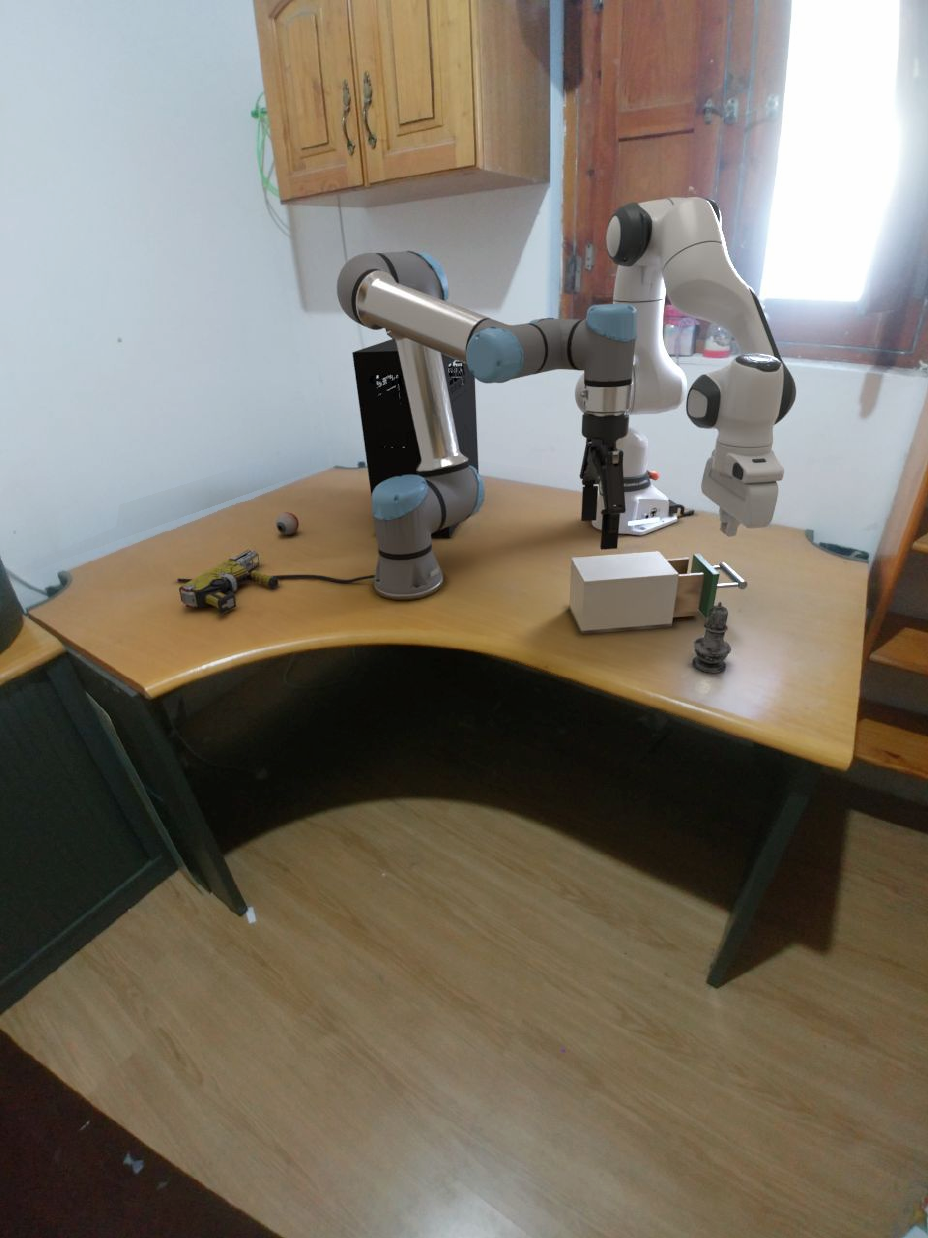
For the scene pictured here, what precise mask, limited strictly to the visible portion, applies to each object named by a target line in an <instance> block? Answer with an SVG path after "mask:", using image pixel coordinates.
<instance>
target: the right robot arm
mask: <svg viewBox="0 0 928 1238" xmlns="http://www.w3.org/2000/svg"><path fill="white" fill-rule="evenodd" d="M605 237H606V239H605V242H606V244H605V245H606V252H607V256H608V257H609V259H610V261H612V263H613V264H614V265H617V269H616V275H615V280H614V286H613V297H612V304H630V305H633V306H634V307H635V308H636V311H637V325H636V334H637V339H636V342H635V352H634V363H633V372H632V395H631V407H630V408H629V409H628V410H627V412H628V414H629V416H637V415H657V414H661V413H662V414H663V413H666V412H670V411H674V410H676V409H678V408H680V405H681V404H682V403H683V401H684V400H685V398H686V403H685V411H686V415H687V417H688V419H689V420H690V422H691V423H692V424H693V425H695V426H696V427H697V428H699V429H705V430H714V429H716V430H717V432H718V434H717V437H716V440H715V446H714V449H713V450H712V451H711V455H710V457H709V458H708V459H707V460H706V463H705V467H704V470H703V475H702V477H701V478H702V479H701V484H700V490H701V493H702V495H704V496H705V497H706V498H707V499H709V500H710V501H711V502H713V503H714V504H715V505H717V506H718V508H719V509H718V513H719V520H720V525H719V530H720V531H721V532H722V533H723V534H724V535H725V536H726V537H728V538H729V537H730V538H731V537H735V536H736V535H737V533H738V528H739V526H740V525H741V524H742V525H743V526H745V528H747V529H762V528H767V527H768V526H769V525H770V524H771V522H772V520H773V519H774V514H775V511H776V507H777V502H778V497H779V484H778V482H780V481H782V480H783V478H784V474H785V469H784V466H783V465H782V464H781V462H780V461H779V460H778V458H777V457H776V455H775V452H774V450H772V448H773V444H774V426H775V425H777V424H778V423H780V422H781V421H782V420H783V419H784V418H785V417H786V416H787V415H788V413H789V412H790V411H791V410H792V408H793V405H794V403H795V401H796V397H797V386H796V382H795V379H794V377H793V375H792V373H791V371H789V368H788V367H787V365H786V364H785V362H784V361H783V358H782V357H781V354H780V352H779V348H778V347H777V344H776V341H775V339H774V336H773V333H772V331H771V328H770V325H769V323H768V320H767V318H766V315H765V312H764V310H763V307H762V305H761V302H760V300H759V298H758V296H757V293H756V292H755V290H754V289H753V288H752V287H751V286H750V285H749V284H748V283H746V282H745V281H744V280H743V279H742V278H741V276H740V275H739V273H738V272H737V270H736V269H735V268H734V266H733V264H732V262H731V260H730V257H729V254H728V250H727V246H726V245H727V244H726V241H725V237H724V234H723V231H722V213H721V210H720V207H719V205H718V203H717V202H716V201H715V200H713V199H710V198H707V197H702V196H689V197H665V198H663V199H655V200H654V199H653V200H648V201H644V202H639V203H638V202H630V203H627V204H624V205H621V206H619V207H617V208H616V209H615V210H614V212H613V214H612V215H611V216H610V218H609V221H608V224H607V229H606V235H605ZM666 296H667V299H668V300H669V303H670V304H671V306H672V307H673V308H674V309H675V310H676V311H678V312H679V313H680V314H683V316H687V317H690V318H693V319H698V320H701V321H705V322H708V323H711V324H714V325H717V326H718V327H720V328H722V329H724V330H726V331H727V332H728V333H729V334H730V335H731V336H732V337H733V339H734V341H735V343H736V347H737V349H738V351H739V354H740V355H738V356H736V357H735V358H733V359H732V360H731V361H730V363H729V364H728V365H727V366H725V367H723V368H720V369H718V370H714V371H710V372H707V373H704V374H700V375H699V376H698V377H697V378H696V379H695V380H694V381H693V383H692V384H691V385H690V388H689V390H688V380H687V378H686V377H687V376H686V374H685V372H684V371H683V370H682V369H681V367H679V366H678V365H677V364H676V363H675V362H674V360H672V358H671V357H670V356H669V354H668V352H667V349H666V347H665V343H664V337H663V336H664V335H663V330H664V329H663V327H664V311H665V301H666ZM583 391H584V372H583V373H582V374H581V375H580V377H579V378H578V379H577V382H576V385H575V390H574V400H575V403H576V405H577V407H578V409H579V410H580V412H582V414H584V413H585V412H586V411H585V410H584V409H583V398H582V397H580V393H581V392H583ZM687 391H688V392H687ZM649 446H650V443H649V440H648V438H647V437H646V435H645V434H644V433H643V432H641V431H639V430H638V429H636V428H634V427H631V426H629V427H628V434H627V435H626V436H625V437H624V438H620V439H618V440H617V441H616V448H617V449H618V450H623V453H624V455H623V477H624V493H625V508H626V511H625V513H620V520H619V532H618V535H619V534H623V535H625V534H626V535H632V536H633V535H634V536H645V535H646V534H650V533H652V532H654V531H657V530H660V529H662V528H665V527H668V526H670V525H672V524H675V523H677V522H678V516H677V515H676V514H678V513H680V515H681V516H682V517H687V516H690V515H694V514H695V510H694V509H691V510H688V511H685V510H686V508H685V506H684V505H683V504H680V503H676V502H674V501H673V500H671V499H669V498H668V497H667V496H666V495H665V494H664V493H663V492H661V491H660V490H659V489H658V488H656V487H655V486H654V485H652V483H651V480H653V481H658V479H659V478H660V473H659V472H657V471H654V470H651V471H649V470H648V469H647V466H648V458H649V457H648V455H649ZM612 466H613V465H612ZM599 480H600V484H598V499H597V515H596V520H593V521H591V525H592V526H593V527H594V528H595V529H597V530H599V531H601V530H602V514H601V511H602V510H603V509H605V507H604V500H603V492H602V485H601V477H600V476H599ZM614 506H616V505H614ZM679 509H680V511H679Z"/></svg>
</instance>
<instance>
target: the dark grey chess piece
mask: <svg viewBox="0 0 928 1238" xmlns="http://www.w3.org/2000/svg"><path fill="white" fill-rule="evenodd" d="M728 616H729V611H728V608H726V607H725V606H723V603H722V601H719V602H718V603H717V605H714V606H713V607H711V608H710V610H709V614H708V618H707V621H706V622H705V623H704V624H703V627H704V630H705V631H704V635H703V636H702V637H699V638H697V639H695V640H694V641H693V647H694V651H695V655H696V656H695V657H693V658H692V665H693V666H694V667H695V668H696V669H698V670H699V671H702V672H705V673H710V674H716V673H717V674H718V673H721V672H724V670H726V667H727V664H726V662H725V660H726V659H727V658H728V655H730V654H731V651H732V647H731V645H730V644H729V643H728V642H727V641H725V634H726V632H728V630H729V628H728V625H727V622H728Z"/></svg>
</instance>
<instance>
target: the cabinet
mask: <svg viewBox="0 0 928 1238" xmlns="http://www.w3.org/2000/svg"><path fill="white" fill-rule="evenodd" d="M666 559H667V558H666V557H664V556H663V555H662V552H660V551H645V552H644V551H643V552H633V553H632V552H631V553H619V554H618V553H617V554H607V555H593V556H582V557H581V556H580V557H579V556H578V557H571V558H570V581H569V604H568V609H569V611H570V613H571V615H572V618H573V619H574V622H575V624H576V626H577V629H578V631H579V632H580V634H581V635H590V634H593V635H594V634H601V633H604V634H605V633H615V632H616V633H617V632H627V631H629V632H630V631H638V630H640V631H641V630H652V629H664V628H672V627H673V619H674V617H673V612H674V605H675V598H676V591H677V584H678V577H679V574H678V573H677V571H676V570H675V569H674V568H673V567H672V566H671V565H670V564H669V562H668V561H667V560H666Z"/></svg>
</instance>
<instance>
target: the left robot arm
mask: <svg viewBox="0 0 928 1238" xmlns="http://www.w3.org/2000/svg"><path fill="white" fill-rule="evenodd" d="M336 296H337V300H338V303H339V305H340V307H341V309H342V311H343V312H344V313H345V314H346V315H347V316H348V318H349V319H351V320H352V321H354V322H355V323H357V324H358V325H361V326H363V327H365V328H368V329H369V330H372V331H379V330H383V329H384V330H385V334H386V335H387V336H388V337H389V338H391V339H394V340H395V342H396V345H397V350H398V354H399V359H400V363H401V368H402V373H403V377H404V382H405V387H406V391H407V396H408V401H409V405H410V410H411V415H412V419H413V424H414V429H415V433H416V438H417V443H418V447H419V452H420V457H421V462H420V463H419V465H418V467H417V468H416V471H417V475H403V476H400V477H399V476H396V477H392V478H389V479H387V480H385V481H383V482H381V483H380V484H378V485H377V486H376V487H375V489H374V490H373V493H372V497H371V514H372V515H373V522H374V529H375V537H376V538H375V539H376V544H377V545H376V546H377V551H378V552H377V553H378V558H377V563H376V568H375V572H374V574H371V575H370V574H369V575H364V576H359V577H355V578H349V579H340V578H334V577H330V576H325V575H320V574H319V575H318V574H277V575H269V576H270V577H271V576H272V577H276V578H277V579H298V578H299V579H300V578H301V579H303V578H304V579H305V578H306V579H319V580H326V581H330V582H335V583H342V584H348V583H355V582H360V581H364V580H371V579H373V585H374V591H375V592H376V593H377V594H378V595H379V596H381V597H382V598H385V599H388V600H394V601H413V600H419V599H424V598H425V597H429V596H431V595H433V594H435V593H436V592H438V591H439V590H440V589H441V588H442V587H443V585H444V577H443V572H442V569H441V567H440V564H439V563H438V561H437V558H436V555H435V553H434V551H433V544H432V537H431V533H433V532H436V531H438V530H441V529H443V528H446V527H448V526H451V525H453V524H456V523H458V522H459V523H463V522H465V521H466V520H468V519H469V518H471V517H473V516H475V515H477V514H478V513H479V511H480V509H481V508H482V506H483V504H484V501H485V493H486V490H485V483H484V479H483V476H482V475H481V474H478V471H477V470H476V469H475V468H474V467H472V466H470V465H469V462H468V458H467V457H465V456H464V455H463V454H461V453H460V451H459V446H458V441H457V436H456V431H455V425H454V420H453V415H452V410H451V404H450V399H449V394H448V389H447V383H446V378H445V373H444V368H443V362H442V357H441V353H442V354H444V355H447V356H449V357H451V358H453V359H456V360H455V361H457V360H458V361H460V362H463V363H465V364H467V365H468V368H469V370H470V372H471V373H473V375H474V376H475V380H477V381H479V382H480V383H483V384H504V383H506V382H509V381H511V380H516V379H520V378H524V377H528V376H534V375H538V374H542V373H547V372H550V371H557V370H568V371H569V370H570V371H578V372H579V371H581V372H583V373H584V391H583V392H581V393H580V397H582V398H583V409H584V410H585V411H586V412H585V413H582V416H581V435H582V437H583V438H585V447H584V452H583V456H582V462H581V467H580V472H579V479H580V480H581V485H582V494H581V513H580V514H581V515H580V516H581V517H580V521H581V522H592V521H593V520H596V515H597V502H598V497H599V484H600V480H599V476H600V477H601V485H602V492H603V500H604V507H605V509H603V510H602V511H601V514H602V530H600V531H601V532H600V545H599V549H600V550H602V551H603V550H604V551H605V550H617V549H618V544H619V543H618V542H619V533H618V532H619V520H620V513H625V511H626V508H625V493H624V477H623V455H624V453H623V450H618V449H617V448H616V441H617V440H618V439H620V438H624V437H625V436H626V435H627V434H628V427H630V425H629V424H630V415H629V414H628V412H627V410H628V409H629V408H630V407H631V395H632V372H633V365H634V363H635V355H634V352H635V342H636V339H637V334H636V325H637V311H636V308H635V307H634V306H633V305H630V304H613V303H612V304H611V303H605V304H595V305H592V306H591V305H590V306H589V307H588V308H587V312H586V317H585V318H581V319H577V318H575V319H573V318H554V317H547V318H546V317H545V318H543V317H542V318H536V319H532V320H530V321H529V322H528V323H520V324H507V323H504V322H502V321H498V320H496V319H493V318H491V317H489V316H486V315H483V314H480V313H478V312H475V311H473V310H470V309H467V308H465V307H462V306H459V305H457V304H454V303H451V302H448V300H449V296H450V289H449V281H448V278H447V275H446V272H445V271H444V268H443V267H442V265H441V264H440V263H439V262H438V260H437V259H436V258H434V257H433V256H432V255H431V254H430V253H429V254H428V253H426V252H421V251H414V250H406V251H390V252H389V251H388V252H364V253H360V254H357V255H355V256H353V257H352V258H350V259H348V260H347V262H345V263H344V265H343V266H342V268H341V269H340V272H339V273H338V277H337V281H336ZM612 465H613V466H612ZM614 505H616V506H614ZM193 579H194V578H177V582H181V583H187V582H189V581H191V580H193ZM248 581H250V582H251V581H252V580H251V579H250V580H248ZM248 581H247V582H248Z"/></svg>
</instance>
